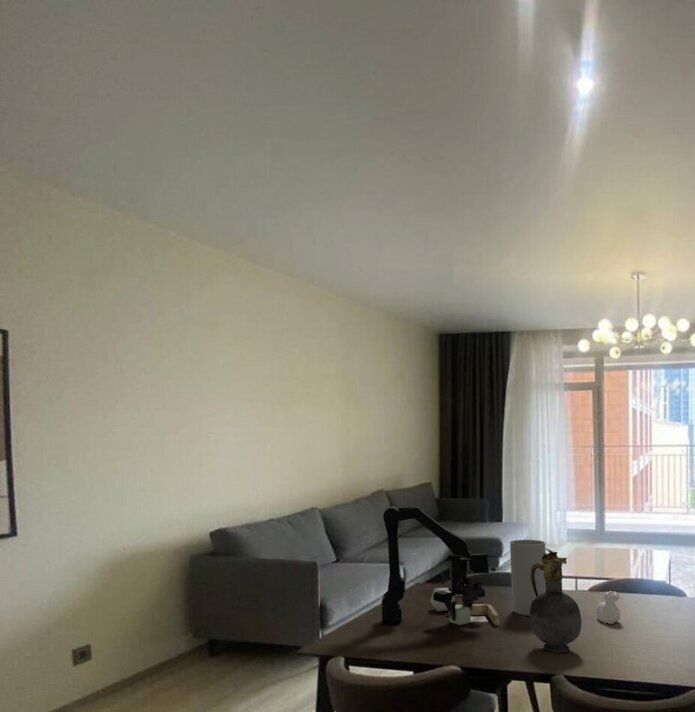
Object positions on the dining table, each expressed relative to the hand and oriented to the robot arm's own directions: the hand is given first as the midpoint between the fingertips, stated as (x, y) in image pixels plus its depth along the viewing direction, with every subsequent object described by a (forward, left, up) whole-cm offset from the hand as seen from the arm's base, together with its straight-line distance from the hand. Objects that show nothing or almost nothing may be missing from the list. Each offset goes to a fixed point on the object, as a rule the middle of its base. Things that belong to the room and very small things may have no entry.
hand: (460, 619), depth 270 cm
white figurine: (+51, -2, -1) cm, 51 cm away
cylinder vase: (+27, +13, -1) cm, 30 cm away
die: (-4, +19, -1) cm, 19 cm away
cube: (0, 0, -1) cm, 1 cm away
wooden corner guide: (+5, +4, -1) cm, 7 cm away
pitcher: (+24, -32, -1) cm, 40 cm away
